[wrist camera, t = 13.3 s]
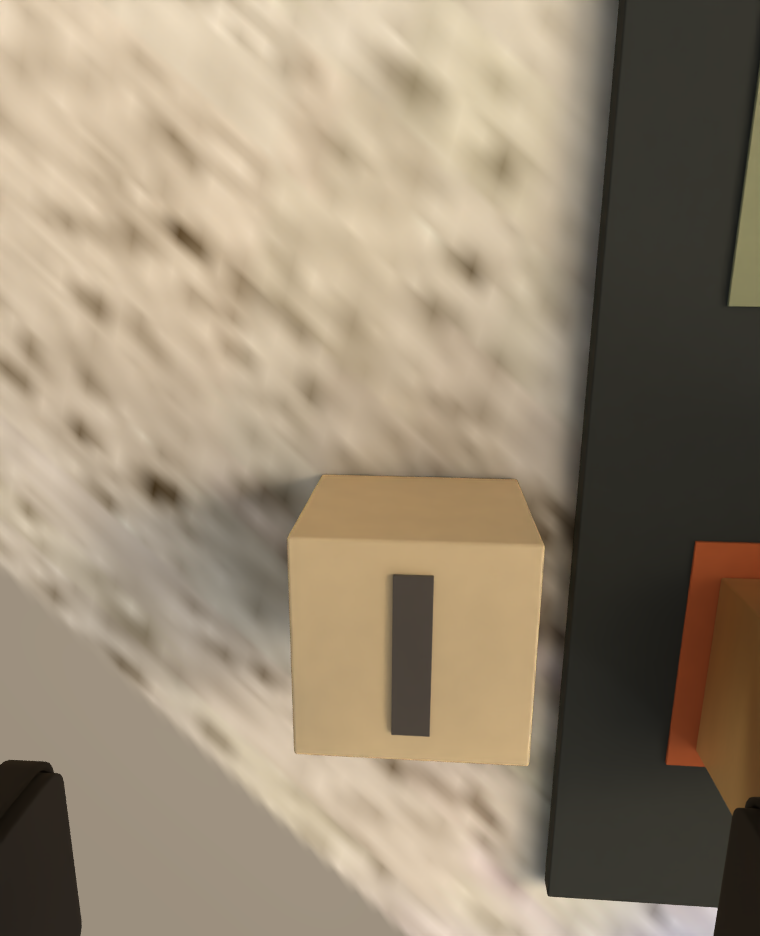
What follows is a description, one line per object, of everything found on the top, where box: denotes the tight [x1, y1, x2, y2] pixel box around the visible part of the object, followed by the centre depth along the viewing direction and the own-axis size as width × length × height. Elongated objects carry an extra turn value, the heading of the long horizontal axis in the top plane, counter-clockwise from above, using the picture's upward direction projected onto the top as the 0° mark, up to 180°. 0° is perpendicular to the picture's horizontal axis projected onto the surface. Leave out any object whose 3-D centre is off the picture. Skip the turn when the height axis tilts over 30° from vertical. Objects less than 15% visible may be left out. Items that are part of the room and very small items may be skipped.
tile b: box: [287, 475, 545, 766], centre depth 16 cm, size 5×5×5 cm
